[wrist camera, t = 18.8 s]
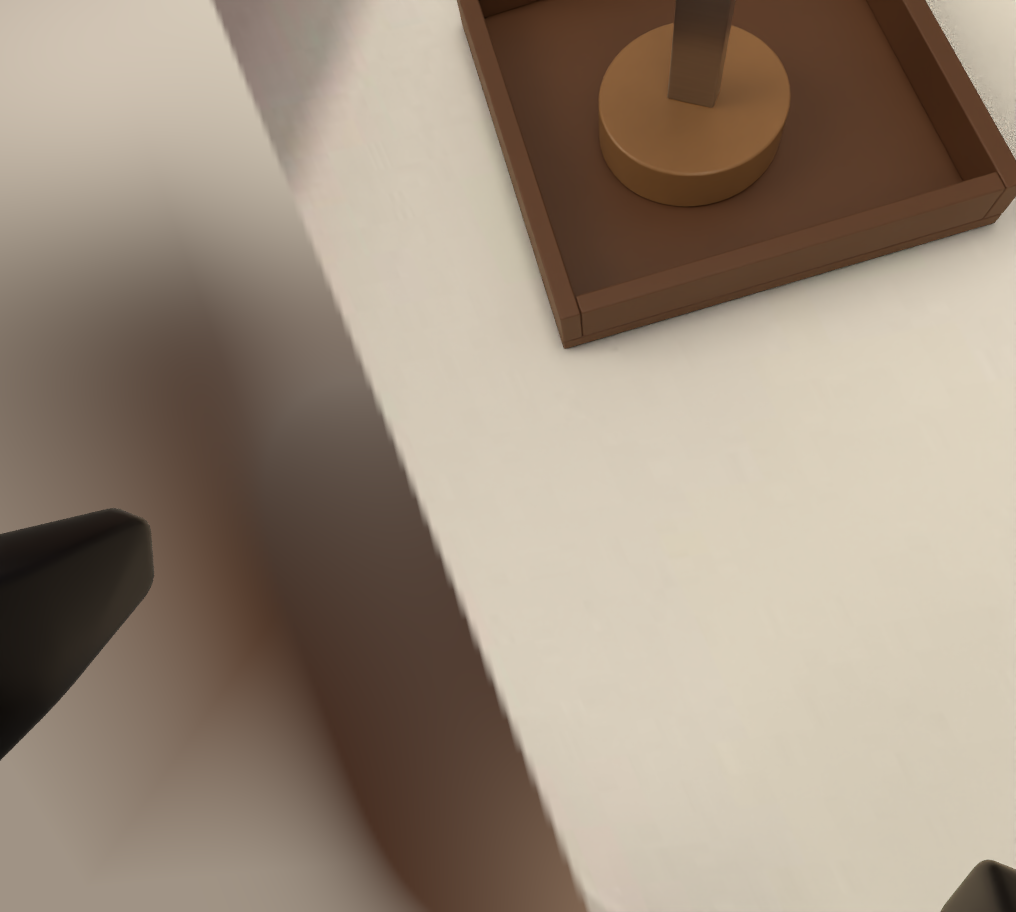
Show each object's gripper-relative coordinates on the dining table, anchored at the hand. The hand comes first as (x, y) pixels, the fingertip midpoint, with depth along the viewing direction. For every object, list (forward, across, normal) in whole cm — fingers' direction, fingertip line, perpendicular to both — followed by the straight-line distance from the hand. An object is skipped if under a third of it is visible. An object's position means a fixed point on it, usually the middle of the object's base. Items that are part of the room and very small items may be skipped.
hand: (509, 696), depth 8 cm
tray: (+23, +2, -4) cm, 23 cm away
